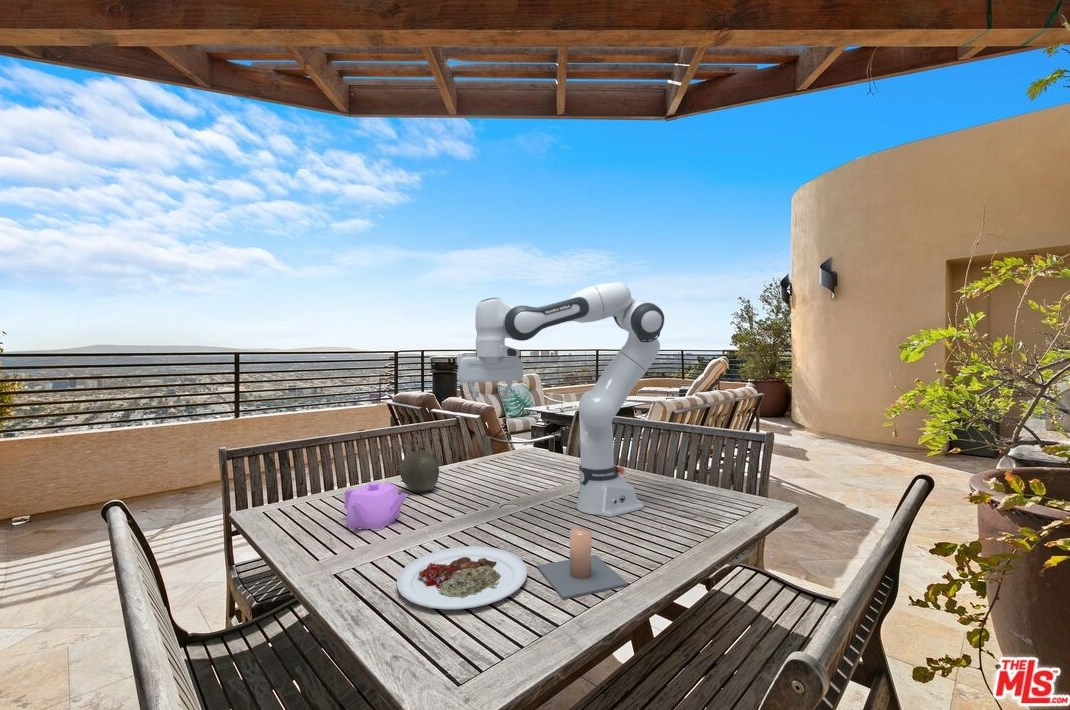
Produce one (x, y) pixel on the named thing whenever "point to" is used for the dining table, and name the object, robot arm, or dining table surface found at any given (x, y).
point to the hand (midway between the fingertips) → (491, 396)
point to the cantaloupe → (419, 471)
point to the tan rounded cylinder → (580, 553)
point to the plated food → (462, 577)
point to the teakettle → (373, 505)
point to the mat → (575, 587)
